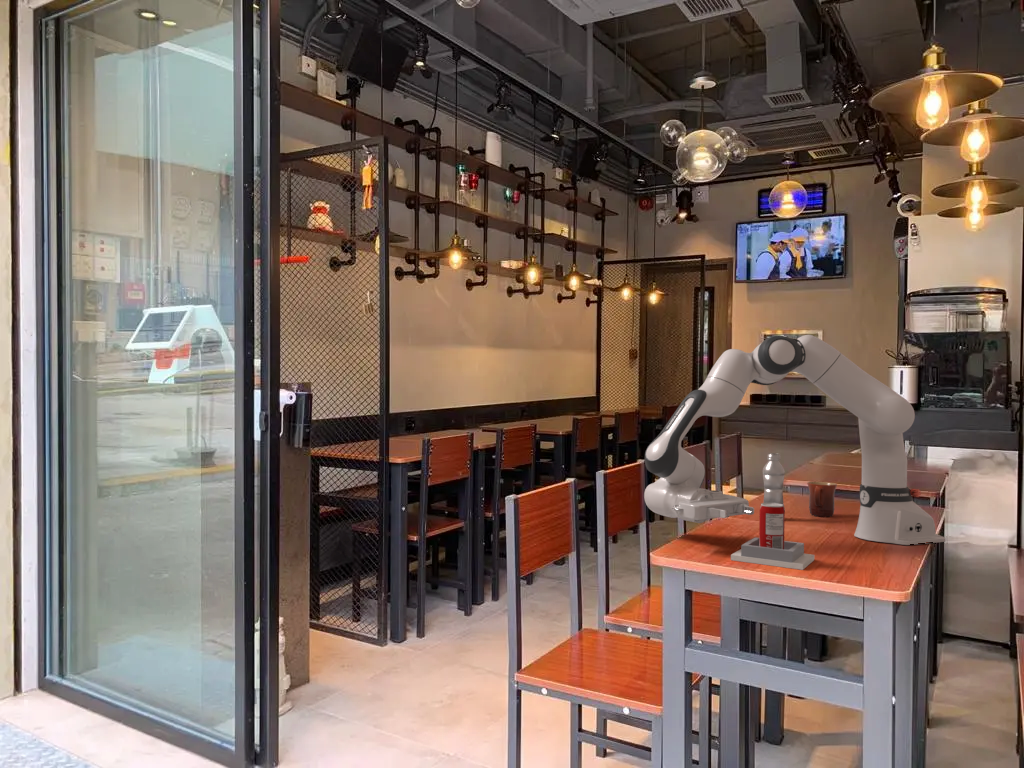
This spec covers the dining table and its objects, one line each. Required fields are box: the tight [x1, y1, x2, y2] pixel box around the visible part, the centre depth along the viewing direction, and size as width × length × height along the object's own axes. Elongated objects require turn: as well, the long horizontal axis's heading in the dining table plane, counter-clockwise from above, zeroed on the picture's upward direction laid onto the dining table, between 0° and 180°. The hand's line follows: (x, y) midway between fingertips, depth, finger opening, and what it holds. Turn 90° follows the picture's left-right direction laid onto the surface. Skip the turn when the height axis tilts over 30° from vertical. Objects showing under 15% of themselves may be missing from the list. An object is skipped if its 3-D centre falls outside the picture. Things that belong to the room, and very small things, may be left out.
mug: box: [806, 481, 838, 518], centre depth 242 cm, size 12×9×10 cm
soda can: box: [758, 502, 786, 549], centre depth 179 cm, size 6×6×12 cm
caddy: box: [730, 537, 815, 571], centre depth 179 cm, size 12×16×4 cm
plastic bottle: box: [762, 452, 786, 511], centre depth 236 cm, size 6×7×20 cm
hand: (740, 512), depth 186 cm, fingers open, 8 cm apart
